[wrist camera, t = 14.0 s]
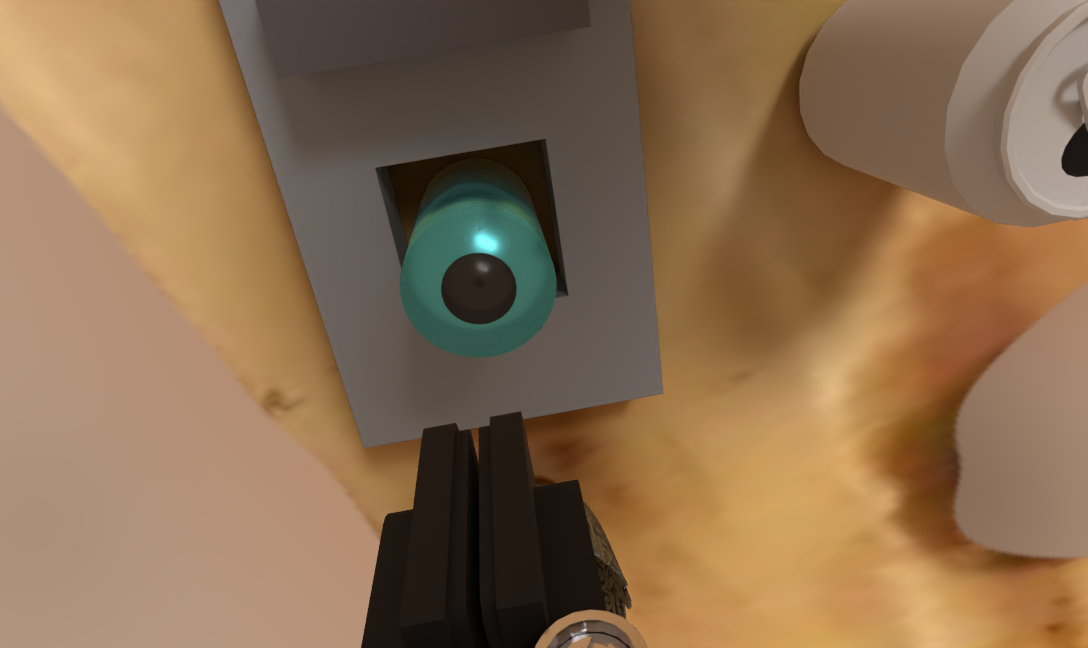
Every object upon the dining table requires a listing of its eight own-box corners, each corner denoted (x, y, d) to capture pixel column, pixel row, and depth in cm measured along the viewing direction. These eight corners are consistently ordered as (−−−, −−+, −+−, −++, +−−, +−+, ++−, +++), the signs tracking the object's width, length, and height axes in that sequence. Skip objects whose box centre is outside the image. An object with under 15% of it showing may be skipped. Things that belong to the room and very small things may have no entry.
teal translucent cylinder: (408, 168, 28) (381, 228, 20) (523, 149, 28) (544, 200, 20) (434, 276, 30) (419, 371, 22) (541, 258, 30) (566, 345, 22)
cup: (444, 528, 36) (436, 654, 29) (496, 423, 34) (502, 531, 27) (564, 562, 38) (586, 688, 31) (622, 464, 36) (661, 576, 28)
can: (835, 198, 31) (1036, 292, 20) (758, 60, 28) (944, 83, 17) (982, 93, 29) (1285, 133, 18) (916, -63, 26) (1230, -125, 15)
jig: (214, -101, 23) (136, -139, 18) (598, -162, 24) (635, -217, 18) (372, 413, 33) (353, 490, 27) (647, 363, 33) (681, 429, 28)
